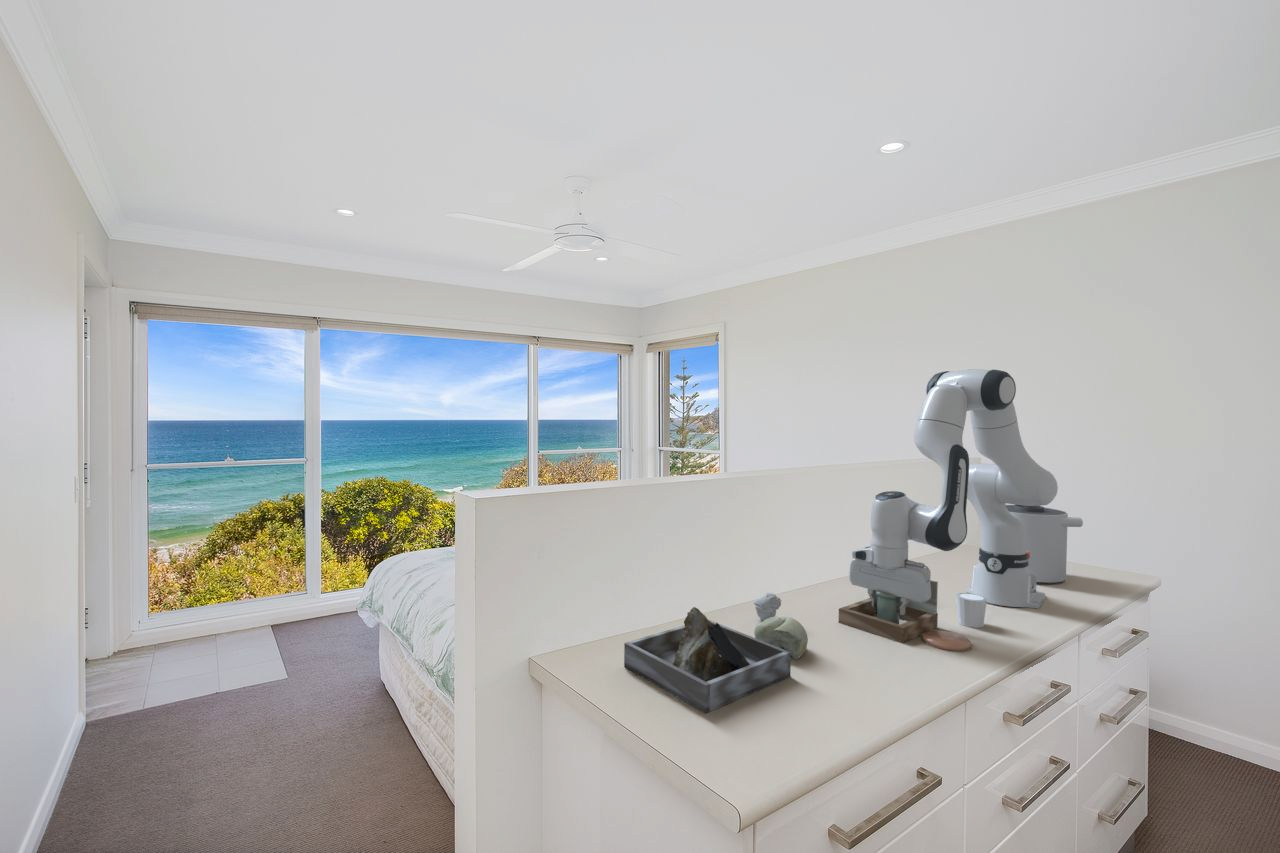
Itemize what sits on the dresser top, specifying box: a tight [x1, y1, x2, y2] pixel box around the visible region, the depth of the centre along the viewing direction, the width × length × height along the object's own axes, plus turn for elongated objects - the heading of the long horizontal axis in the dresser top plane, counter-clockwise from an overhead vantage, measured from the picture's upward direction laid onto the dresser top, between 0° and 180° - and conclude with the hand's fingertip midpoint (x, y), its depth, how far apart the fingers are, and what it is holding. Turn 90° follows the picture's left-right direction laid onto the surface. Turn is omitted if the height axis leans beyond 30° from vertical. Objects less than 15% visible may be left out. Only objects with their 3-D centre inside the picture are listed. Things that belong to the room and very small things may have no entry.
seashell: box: [753, 615, 809, 660], centre depth 133 cm, size 13×8×10 cm
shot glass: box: [955, 592, 988, 629], centre depth 151 cm, size 7×7×7 cm
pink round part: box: [922, 629, 972, 652], centre depth 138 cm, size 10×10×1 cm
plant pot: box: [876, 590, 901, 624], centre depth 149 cm, size 6×6×8 cm
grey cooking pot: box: [1006, 504, 1084, 585], centre depth 196 cm, size 22×21×23 cm
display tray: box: [623, 619, 792, 714], centre depth 121 cm, size 24×24×5 cm
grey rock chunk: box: [753, 592, 782, 621], centre depth 152 cm, size 6×7×7 cm
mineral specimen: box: [672, 606, 749, 682], centre depth 120 cm, size 14×15×17 cm
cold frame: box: [838, 579, 939, 644], centre depth 149 cm, size 17×17×12 cm
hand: (888, 610), depth 149 cm, fingers closed on plant pot, 5 cm apart
